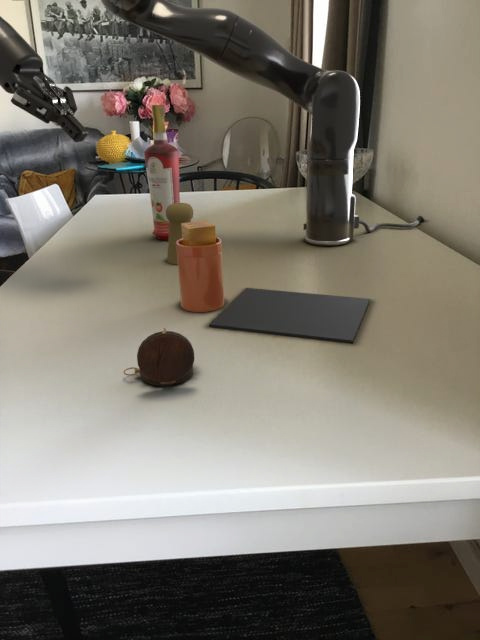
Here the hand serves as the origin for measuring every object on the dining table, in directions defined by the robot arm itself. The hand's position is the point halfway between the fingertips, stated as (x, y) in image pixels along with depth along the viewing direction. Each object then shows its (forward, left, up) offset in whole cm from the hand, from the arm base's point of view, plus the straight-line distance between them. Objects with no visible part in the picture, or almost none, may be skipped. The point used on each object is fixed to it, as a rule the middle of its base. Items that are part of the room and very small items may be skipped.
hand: (82, 137), depth 87 cm
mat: (-24, +25, -24) cm, 42 cm away
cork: (-17, -10, -25) cm, 32 cm away
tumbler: (-13, +15, -24) cm, 32 cm away
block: (-13, +15, -16) cm, 26 cm away
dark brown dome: (-1, +36, -25) cm, 44 cm away
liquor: (-19, -29, -25) cm, 42 cm away
